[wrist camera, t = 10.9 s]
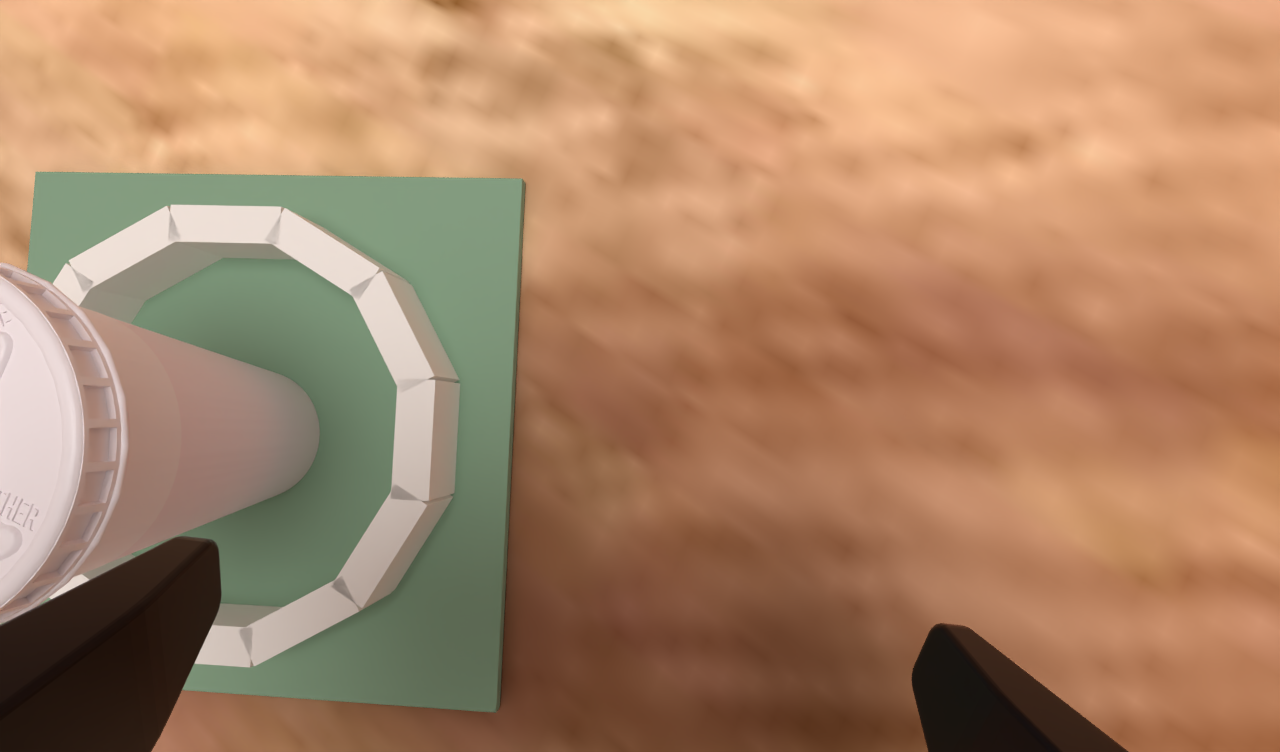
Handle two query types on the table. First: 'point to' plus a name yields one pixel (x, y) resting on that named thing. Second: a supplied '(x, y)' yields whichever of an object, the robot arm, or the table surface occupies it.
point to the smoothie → (124, 438)
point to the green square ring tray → (333, 408)
